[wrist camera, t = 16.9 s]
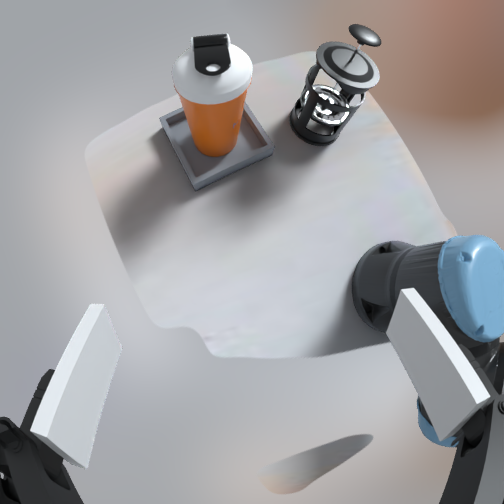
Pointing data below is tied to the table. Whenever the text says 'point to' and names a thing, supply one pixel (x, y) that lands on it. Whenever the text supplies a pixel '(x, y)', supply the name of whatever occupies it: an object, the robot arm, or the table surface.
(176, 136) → the tray
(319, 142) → the french press
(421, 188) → the table surface
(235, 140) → the shaker bottle
